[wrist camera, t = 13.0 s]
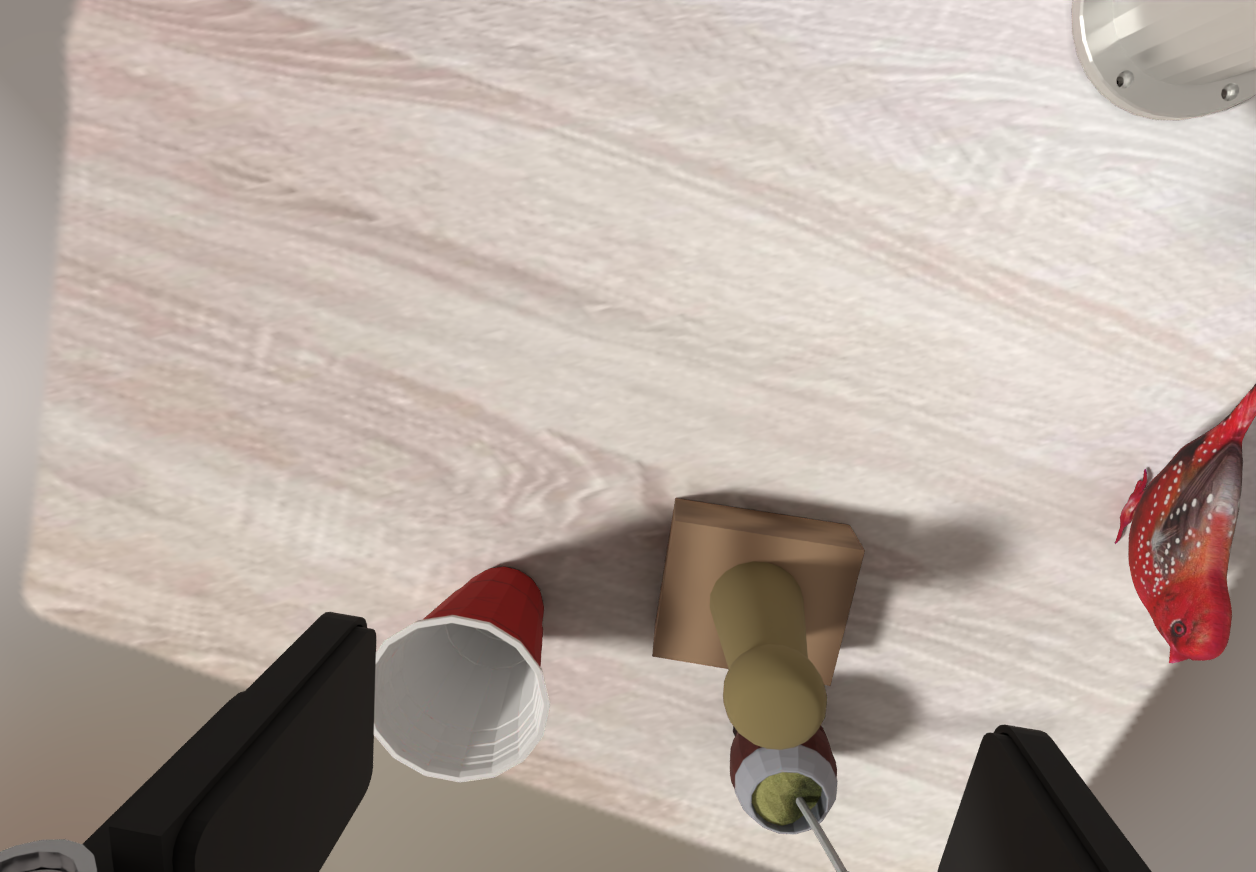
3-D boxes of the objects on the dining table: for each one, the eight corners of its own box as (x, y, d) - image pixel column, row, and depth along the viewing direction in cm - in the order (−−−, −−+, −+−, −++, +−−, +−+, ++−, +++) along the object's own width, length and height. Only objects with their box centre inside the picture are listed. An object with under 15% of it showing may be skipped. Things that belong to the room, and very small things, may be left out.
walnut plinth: (849, 524, 45) (864, 550, 41) (818, 650, 48) (830, 685, 44) (675, 498, 45) (674, 520, 42) (654, 624, 48) (652, 656, 44)
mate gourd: (711, 694, 49) (722, 875, 35) (812, 661, 48) (866, 837, 33) (748, 771, 51) (772, 975, 36) (846, 742, 49) (912, 943, 35)
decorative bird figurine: (1067, 590, 45) (1171, 682, 35) (1173, 334, 40) (1328, 360, 30) (1109, 598, 45) (1226, 693, 35) (1221, 343, 40) (1393, 372, 30)
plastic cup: (602, 641, 49) (576, 760, 37) (474, 679, 51) (411, 804, 39) (545, 513, 47) (499, 598, 35) (413, 558, 48) (327, 653, 37)
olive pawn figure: (782, 547, 41) (814, 648, 31) (817, 625, 43) (860, 749, 32) (694, 581, 43) (696, 689, 32) (731, 656, 44) (745, 785, 33)
